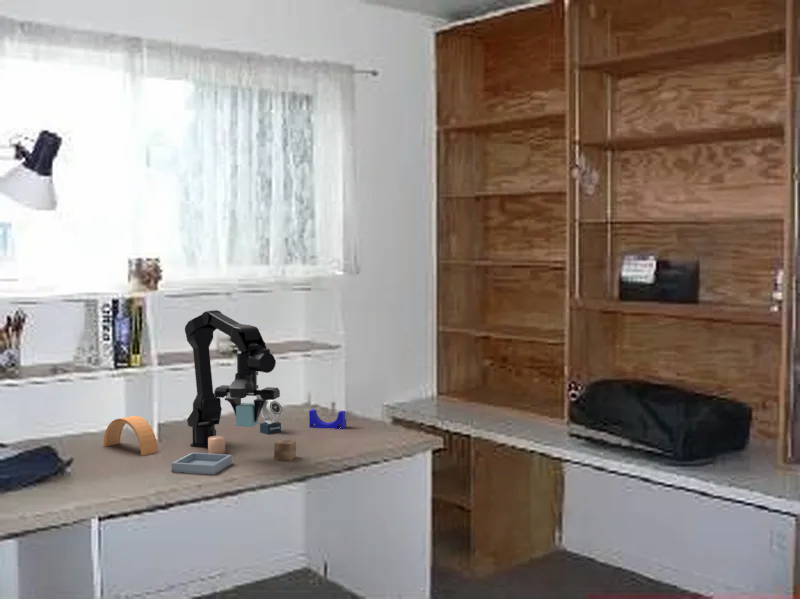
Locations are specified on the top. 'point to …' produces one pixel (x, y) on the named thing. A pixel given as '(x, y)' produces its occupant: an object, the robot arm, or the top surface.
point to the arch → (141, 431)
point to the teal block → (245, 415)
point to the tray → (202, 463)
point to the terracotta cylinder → (216, 445)
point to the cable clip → (320, 424)
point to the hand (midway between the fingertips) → (247, 421)
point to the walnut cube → (285, 450)
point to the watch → (269, 425)
